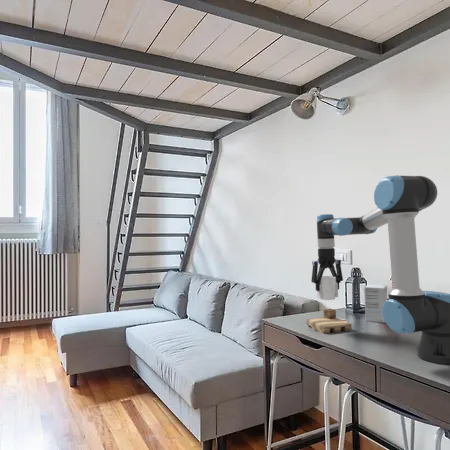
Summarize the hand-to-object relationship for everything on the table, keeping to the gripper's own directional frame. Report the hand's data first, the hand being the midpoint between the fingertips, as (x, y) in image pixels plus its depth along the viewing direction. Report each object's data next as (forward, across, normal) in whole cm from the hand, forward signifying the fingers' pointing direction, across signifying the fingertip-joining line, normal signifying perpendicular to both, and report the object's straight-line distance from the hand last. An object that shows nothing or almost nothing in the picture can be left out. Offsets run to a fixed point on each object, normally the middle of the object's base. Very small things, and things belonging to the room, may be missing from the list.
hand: (327, 297), depth 188 cm
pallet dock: (+15, -1, -2) cm, 15 cm away
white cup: (+1, 0, 0) cm, 1 cm away
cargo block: (+12, -5, -7) cm, 15 cm away
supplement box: (+15, -30, -6) cm, 34 cm away
